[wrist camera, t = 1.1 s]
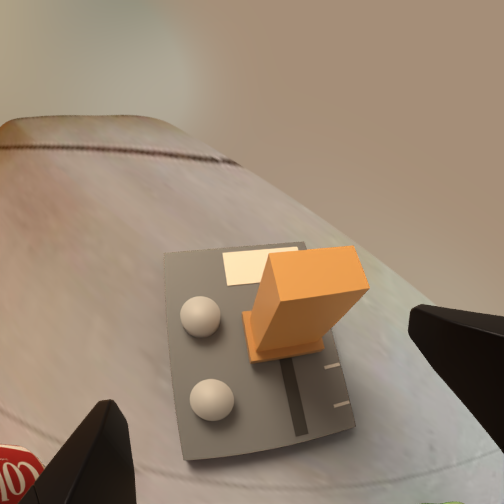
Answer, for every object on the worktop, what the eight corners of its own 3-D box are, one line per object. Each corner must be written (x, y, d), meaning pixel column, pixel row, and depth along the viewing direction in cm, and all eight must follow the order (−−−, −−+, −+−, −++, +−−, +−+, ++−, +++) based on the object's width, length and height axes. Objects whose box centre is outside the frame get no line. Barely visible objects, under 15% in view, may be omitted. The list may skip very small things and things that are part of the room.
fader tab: (321, 351, 20) (380, 298, 13) (249, 363, 19) (274, 315, 12) (309, 306, 22) (356, 235, 15) (241, 315, 21) (257, 243, 14)
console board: (349, 427, 19) (361, 425, 17) (185, 458, 16) (182, 461, 15) (300, 249, 27) (307, 234, 25) (165, 260, 25) (162, 246, 23)
